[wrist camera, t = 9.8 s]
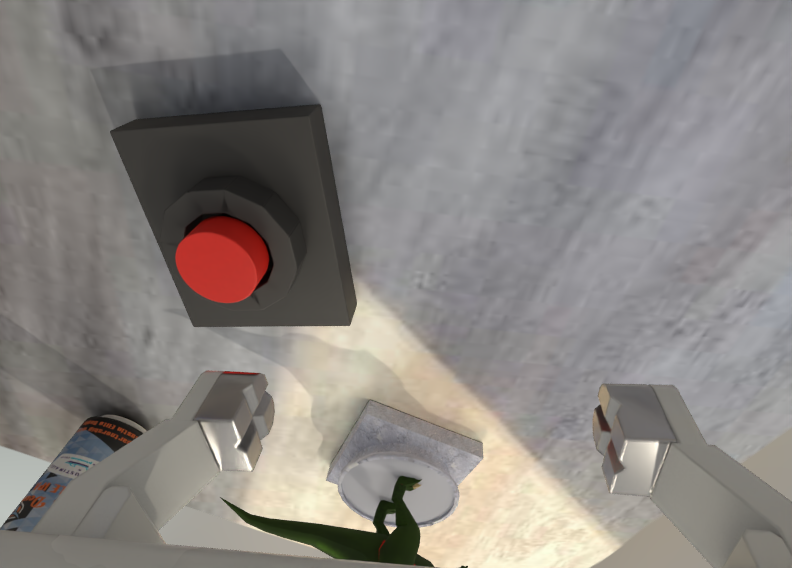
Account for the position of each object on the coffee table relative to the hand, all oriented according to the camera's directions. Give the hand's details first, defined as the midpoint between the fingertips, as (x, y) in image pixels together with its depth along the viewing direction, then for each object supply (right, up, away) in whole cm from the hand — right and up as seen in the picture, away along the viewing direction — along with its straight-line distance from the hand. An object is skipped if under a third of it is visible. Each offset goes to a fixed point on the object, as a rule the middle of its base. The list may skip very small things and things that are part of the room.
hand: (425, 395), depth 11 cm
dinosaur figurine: (-2, -10, +25) cm, 27 cm away
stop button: (-9, +4, +12) cm, 16 cm away
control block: (-9, +6, +15) cm, 19 cm away
